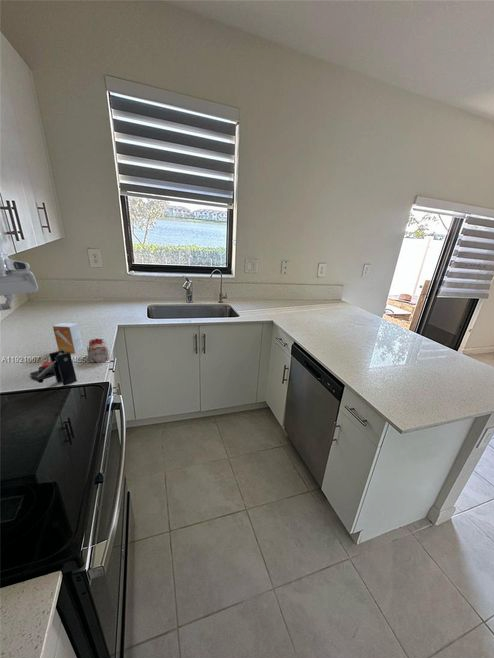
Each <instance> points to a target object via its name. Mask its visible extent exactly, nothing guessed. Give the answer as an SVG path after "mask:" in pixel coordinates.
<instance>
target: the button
mask: <svg viewBox="0 0 494 658" xmlns="http://www.w3.org/2000/svg"><path fill="white" fill-rule="evenodd" d="M51 363H52V362H51V361H46V362H44V363H42V365H41V366H43V369H46V368H47V367H48V366H49V365H50V364H51Z"/></svg>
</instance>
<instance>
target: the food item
mask: <svg viewBox="0 0 494 658" xmlns="http://www.w3.org/2000/svg"><path fill="white" fill-rule="evenodd" d="M86 348H87V350H86V352H87V356H88V359H89V362H90V363H91V364H93V363H103V362H106V361H109V360H110V356H109V349H108V346H107V343H106V340H105V339H104V338H92V339H89V341H88V346H86Z"/></svg>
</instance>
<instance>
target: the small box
mask: <svg viewBox="0 0 494 658" xmlns="http://www.w3.org/2000/svg"><path fill="white" fill-rule="evenodd" d="M79 326H80V325H79V323H74V322H73V323H72V322H59V323H57V324H54V325H52V330H53V334H54V338H55V341H56V345H57V349H58V351H61V350H63V351H64V353H68V352H69V353H70V354H76V353H78V352H80V351H82V350H83V349H84V344H83V340H82V336H81V331H80V327H79ZM82 348H83V349H82ZM81 349H82V350H81ZM79 350H80V351H79Z"/></svg>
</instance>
